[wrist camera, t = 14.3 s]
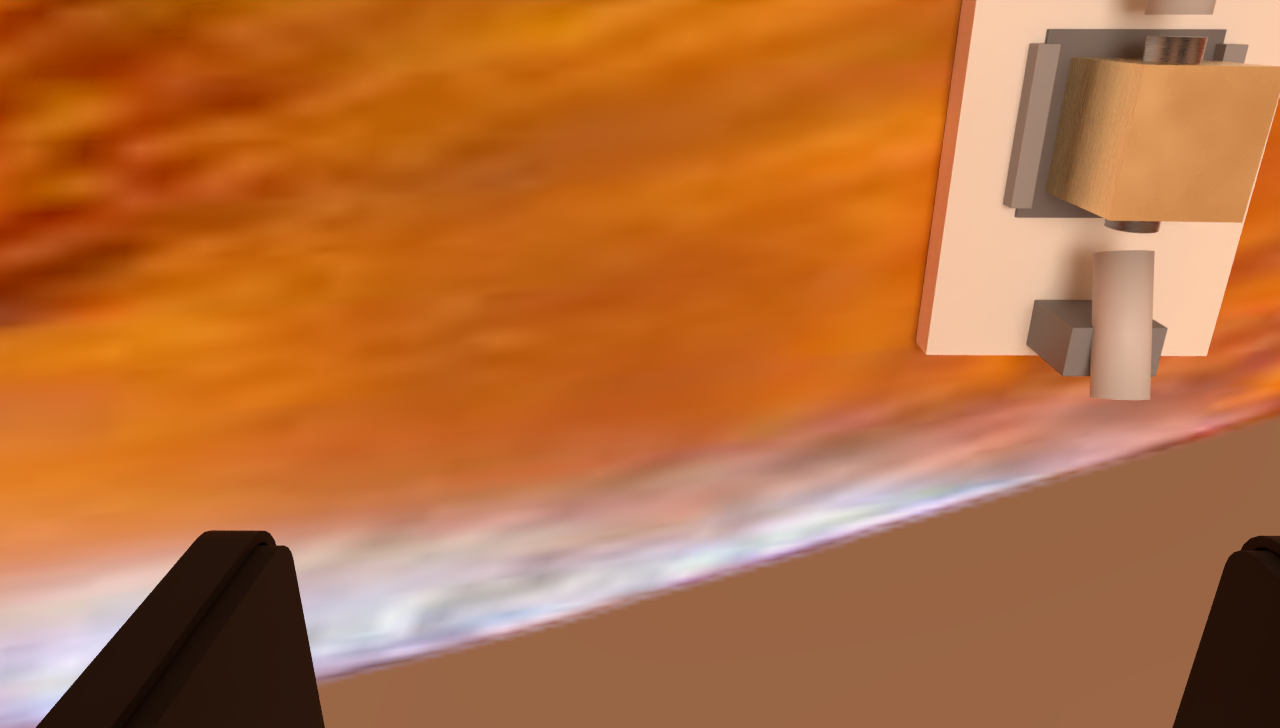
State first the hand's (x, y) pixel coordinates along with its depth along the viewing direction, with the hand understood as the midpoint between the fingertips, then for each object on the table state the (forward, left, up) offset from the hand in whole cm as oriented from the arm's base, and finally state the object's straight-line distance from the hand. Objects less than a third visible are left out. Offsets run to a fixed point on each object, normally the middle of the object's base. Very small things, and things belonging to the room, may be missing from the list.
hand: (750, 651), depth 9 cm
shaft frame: (-2, +17, -28) cm, 33 cm away
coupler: (-2, +17, -27) cm, 32 cm away
